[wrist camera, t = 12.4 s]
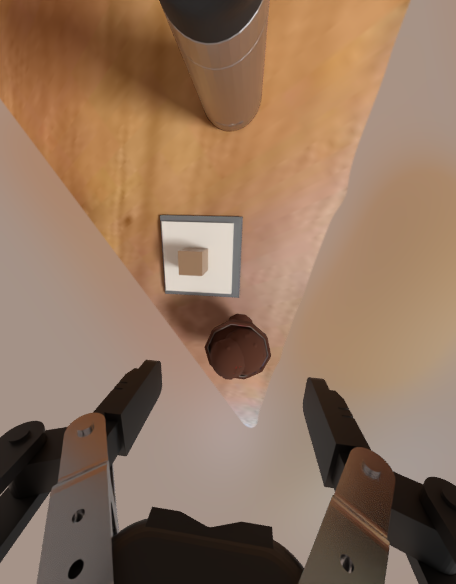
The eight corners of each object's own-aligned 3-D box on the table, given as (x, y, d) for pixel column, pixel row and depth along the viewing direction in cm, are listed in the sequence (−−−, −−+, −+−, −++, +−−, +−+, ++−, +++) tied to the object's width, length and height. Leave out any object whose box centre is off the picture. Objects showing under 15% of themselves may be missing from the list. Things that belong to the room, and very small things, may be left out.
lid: (163, 221, 39) (148, 220, 33) (233, 223, 38) (230, 223, 32) (167, 289, 43) (155, 298, 37) (231, 292, 42) (228, 303, 36)
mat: (161, 215, 39) (159, 215, 38) (242, 217, 38) (242, 216, 37) (166, 292, 44) (165, 293, 43) (239, 296, 42) (239, 297, 42)
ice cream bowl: (221, 352, 47) (209, 408, 32) (209, 306, 44) (189, 345, 29) (270, 345, 45) (279, 401, 31) (260, 296, 42) (265, 333, 28)
